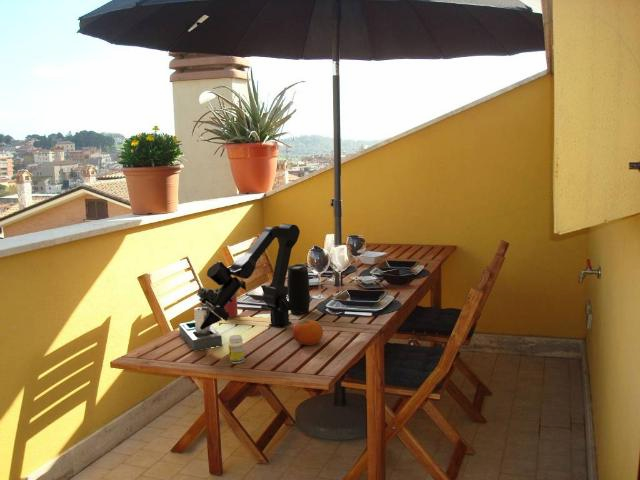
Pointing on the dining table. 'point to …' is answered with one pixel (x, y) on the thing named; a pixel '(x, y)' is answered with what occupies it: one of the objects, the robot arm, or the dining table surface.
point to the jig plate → (199, 342)
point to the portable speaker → (298, 288)
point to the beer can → (232, 307)
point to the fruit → (307, 332)
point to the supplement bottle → (236, 349)
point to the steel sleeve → (201, 321)
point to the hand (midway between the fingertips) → (198, 326)
